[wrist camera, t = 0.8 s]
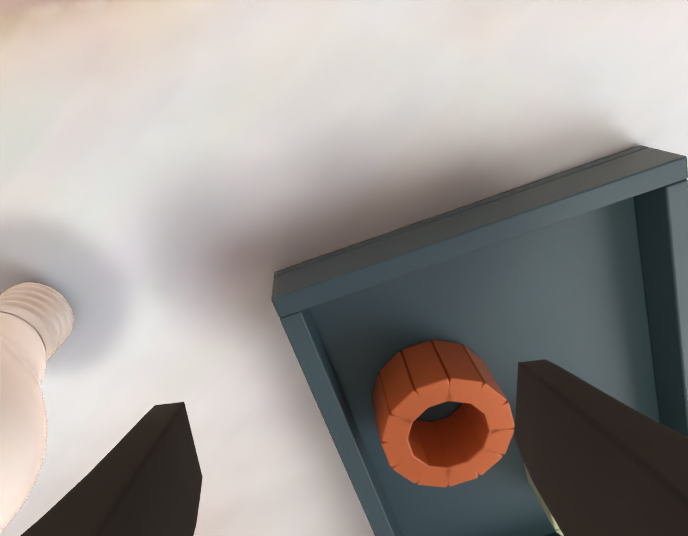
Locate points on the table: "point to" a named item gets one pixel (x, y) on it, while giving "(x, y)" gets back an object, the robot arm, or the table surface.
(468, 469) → the copper ring
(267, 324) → the table surface
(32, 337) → the lightbulb
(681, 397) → the dark teal tray
